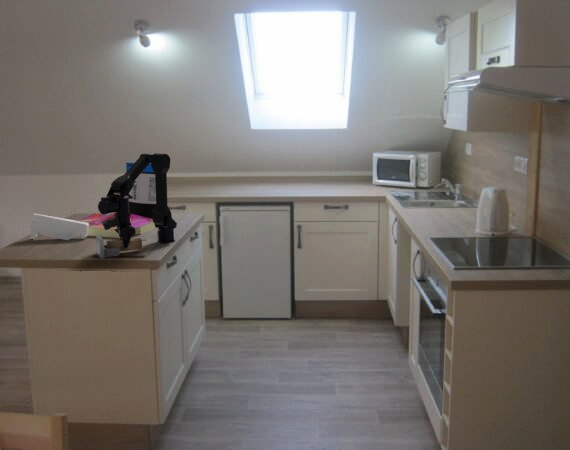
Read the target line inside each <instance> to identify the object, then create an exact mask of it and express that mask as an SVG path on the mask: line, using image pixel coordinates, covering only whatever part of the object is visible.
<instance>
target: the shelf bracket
mask: <svg viewBox="0 0 570 450" xmlns="http://www.w3.org/2000/svg"><path fill="white" fill-rule="evenodd" d="M88 230H89V224H88V223H86V222H80V221H77V220H74V219H70V218H69V219H67V218H63V217H57V216H52V215H51V216H50V215H45V214H39V213H33V214H32V219H31V220H30V235H29V236H30V237H29V240H30V239H33V240H34V239H36V238H37V237H38V234H40V235H41V236H45V237H49V238H54V239H60V240H65V241H70V240H71V239H74V238H76V237H78V238H83V239H85V238H86V237H89V236H88Z"/></svg>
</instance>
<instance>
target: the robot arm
mask: <svg viewBox="0 0 570 450" xmlns="http://www.w3.org/2000/svg"><path fill="white" fill-rule="evenodd" d="M133 163H134V164H133V165H132V166H131V168H130V169H129V170H128V171H127V172H125V173H124V174H122V175H120V176H118V177H117V178H116V179H114V180H113V181H112V182H111V183H110V188H109V190H108V192H107V194H106V197H105V196H102V197H100V200H99V202H98V205H97V209H98V212H99V214H106V215H107V214H108V215H109V214H113V213H114V216H113V217H112V216H111V218H108V219H106V220H104V221H102V222H101V223H102V225H103V227H104V229H105V230H109V229H110V228H112V227H113V228H115V226H116V229H114V230H115V231H116V232H117V233H118V234H119V237H120V238H119V240H122V241H123V245H124V248H127V247H128V244H129V242H130V239H132V236H133V235H134V234H135V228H134V227H132V226H130V225H131V222H130V216H131V213H130V212H129V199H132V198H133V197H132V196H131V195H130V194H129V193H130V191H131V189H132V188H133V184H134V181H135V180H136V179H137V178H138V176H139V175H140V174H141V173H142V172H143V171H144V169H145V168H146V167H147V166H148V165H149V164H151V167H152V169H153V171H154V173H155V185H156V207H155V209H154V210H152V211H151V213H152V218H151V219H152V220H153V223H154V224H155V229H157V237H156V238H157V241H158V242H159V241H160V242H159V243H160V244H164V243H165V244H166V243H174V242H176V239H175V235H174V234H175V232H174V230H175V229H177V224H178V223H177V222H176V221H175V220H174V218H173V216H172V211H171V210H170V208H169V206H168V205H169V204H168V180H167V178H168V177H167V175H168V174H167V173H168V172H169V170H170V168H171V156H170V155H168V154H167V153H161V152H160V153H157V152H155V153H153V154H152V153H151V154H150V153H141V154H140V155H139V157H138V158H137V160H135V162H133ZM135 235H136V234H135Z"/></svg>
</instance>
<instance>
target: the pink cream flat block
mask: <svg viewBox="0 0 570 450" xmlns="http://www.w3.org/2000/svg"><path fill="white" fill-rule="evenodd" d="M114 213H115V212H113V213H108V214H101V213H100V212H99V213H95V212H94V213H92V214H89V215H87V216H85V217H82V218H80V219H78V220H76V221H80V222H86V223H88V224H89V230H88V236H87V237H96V236H95V235H97V234H99V235H100V236H101V237H102V238H115V239H116V238H117V239H120V237H119V234H118V233H117V232H116V231H115V230H114V229H116V226H115V228H113V227H112V228H110V229H109V230H105V229H104V227H103V225H102V223H101V222H102V221H104V220H106V219H108V218H111V217H113V216H114ZM137 216H138V215H136V217H135V215H134V216H133V214H131V216H130V222H131V225H130V226H132V227H134V228H135V235H143V234H144V233H148V232H149V231H151V230H154V229H156V227H155V224H154V223H153V220H152V219H151V218H149V219H148V218H147V219H146V217H145V218H143V217H142V216H138V217H137ZM132 217H133V218H132ZM141 217H142V218H141Z"/></svg>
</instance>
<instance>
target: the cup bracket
mask: <svg viewBox="0 0 570 450" xmlns="http://www.w3.org/2000/svg"><path fill="white" fill-rule="evenodd" d="M94 237H95V245H96V246H95V248H96V255H97V256H98V255H99V256H98V257H99V258H100V260H101V259H105V258H113V256H114V257H116V256H115V255H120V256H121V251H120V248H119V247H115V248H107V244H104V239H103V238H104V237H101V236H100V235H99V234H97V235H95V236H94Z"/></svg>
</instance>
